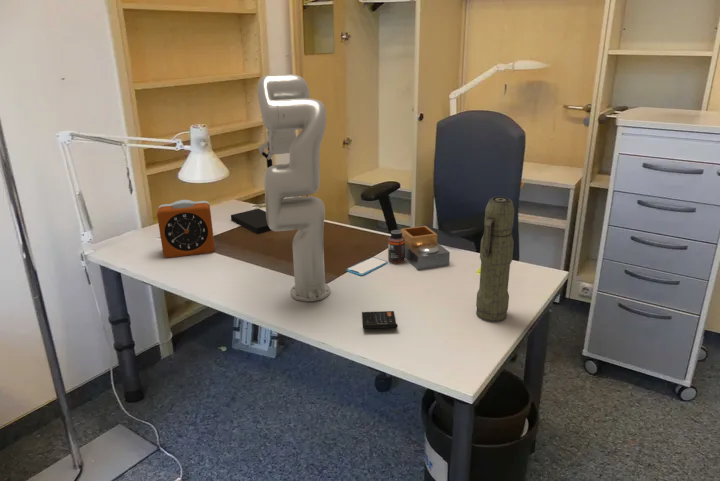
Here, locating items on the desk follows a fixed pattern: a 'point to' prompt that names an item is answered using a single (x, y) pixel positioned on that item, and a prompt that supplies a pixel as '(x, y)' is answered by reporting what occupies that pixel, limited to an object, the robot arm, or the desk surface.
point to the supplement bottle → (396, 247)
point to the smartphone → (366, 266)
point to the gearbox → (424, 248)
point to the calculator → (378, 319)
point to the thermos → (495, 260)
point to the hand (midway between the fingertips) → (283, 168)
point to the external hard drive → (252, 220)
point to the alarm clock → (185, 228)
